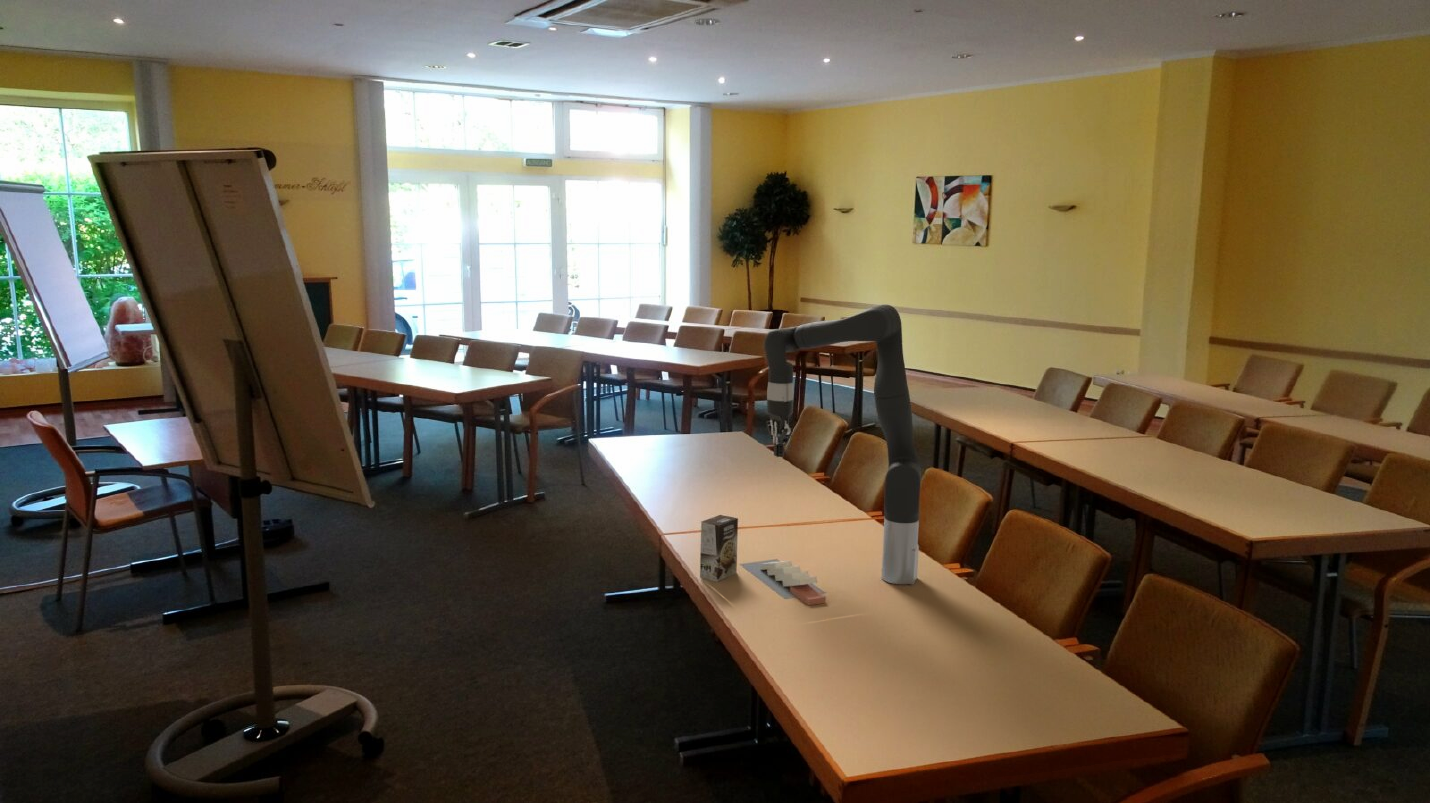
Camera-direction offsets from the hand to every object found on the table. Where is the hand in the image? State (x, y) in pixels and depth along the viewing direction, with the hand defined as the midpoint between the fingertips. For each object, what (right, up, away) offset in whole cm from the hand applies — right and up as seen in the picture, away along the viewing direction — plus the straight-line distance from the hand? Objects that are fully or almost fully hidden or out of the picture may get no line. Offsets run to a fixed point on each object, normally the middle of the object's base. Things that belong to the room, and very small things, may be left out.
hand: (778, 456), depth 279 cm
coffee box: (-17, -32, -16) cm, 40 cm away
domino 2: (-2, -31, -15) cm, 34 cm away
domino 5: (+3, -33, -27) cm, 43 cm away
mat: (-1, -33, -18) cm, 37 cm away
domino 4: (+2, -32, -23) cm, 40 cm away
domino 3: (0, -32, -19) cm, 37 cm away
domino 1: (-4, -30, -11) cm, 32 cm away
